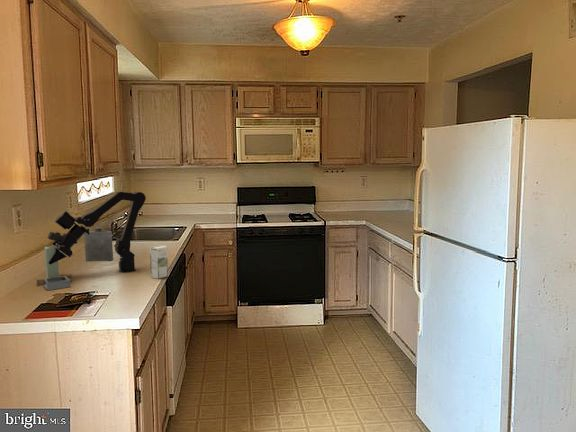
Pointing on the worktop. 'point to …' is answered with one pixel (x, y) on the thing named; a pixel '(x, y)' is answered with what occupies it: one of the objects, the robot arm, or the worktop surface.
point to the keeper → (56, 283)
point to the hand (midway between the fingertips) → (48, 262)
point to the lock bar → (53, 268)
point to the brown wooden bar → (41, 281)
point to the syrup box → (159, 261)
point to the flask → (98, 245)
